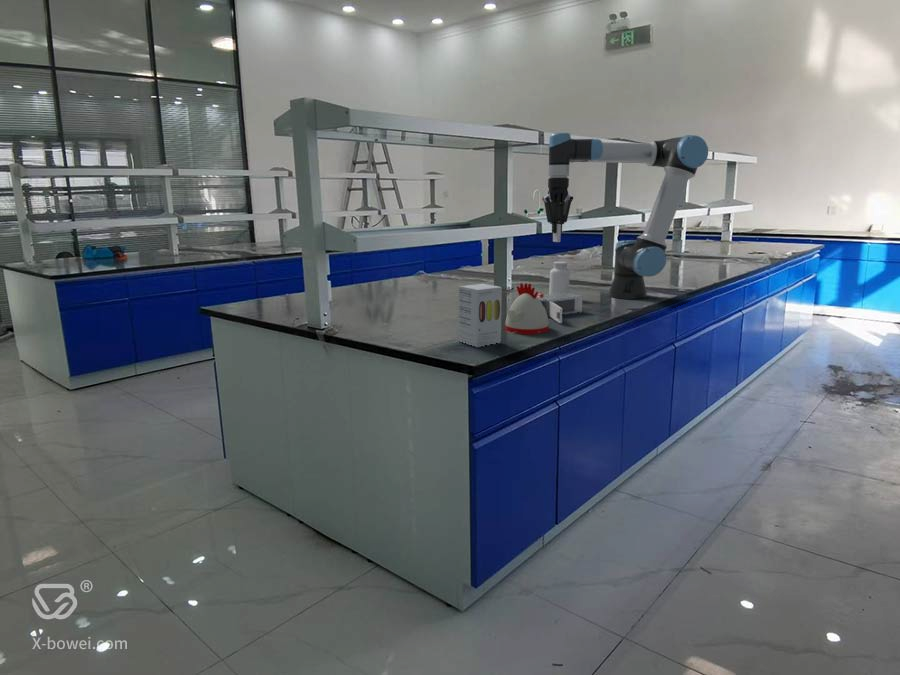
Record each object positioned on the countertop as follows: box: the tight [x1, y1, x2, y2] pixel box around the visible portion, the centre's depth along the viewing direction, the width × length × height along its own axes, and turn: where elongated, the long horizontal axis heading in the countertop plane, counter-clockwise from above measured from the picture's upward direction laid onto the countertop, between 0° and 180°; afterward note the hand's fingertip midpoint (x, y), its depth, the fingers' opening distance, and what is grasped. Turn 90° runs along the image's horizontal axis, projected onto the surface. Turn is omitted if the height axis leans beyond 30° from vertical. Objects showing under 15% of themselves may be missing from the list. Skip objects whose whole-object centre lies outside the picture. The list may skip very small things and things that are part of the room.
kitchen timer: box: [504, 282, 550, 335], centre depth 194 cm, size 14×14×15 cm
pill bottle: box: [548, 261, 571, 294], centre depth 246 cm, size 8×8×15 cm
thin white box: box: [548, 301, 563, 324], centre depth 207 cm, size 13×2×5 cm, turn 7°
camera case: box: [537, 292, 584, 318], centre depth 220 cm, size 19×10×7 cm, turn 118°
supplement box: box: [458, 283, 503, 348], centre depth 177 cm, size 10×9×17 cm
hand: (556, 241), depth 229 cm, fingers closed
